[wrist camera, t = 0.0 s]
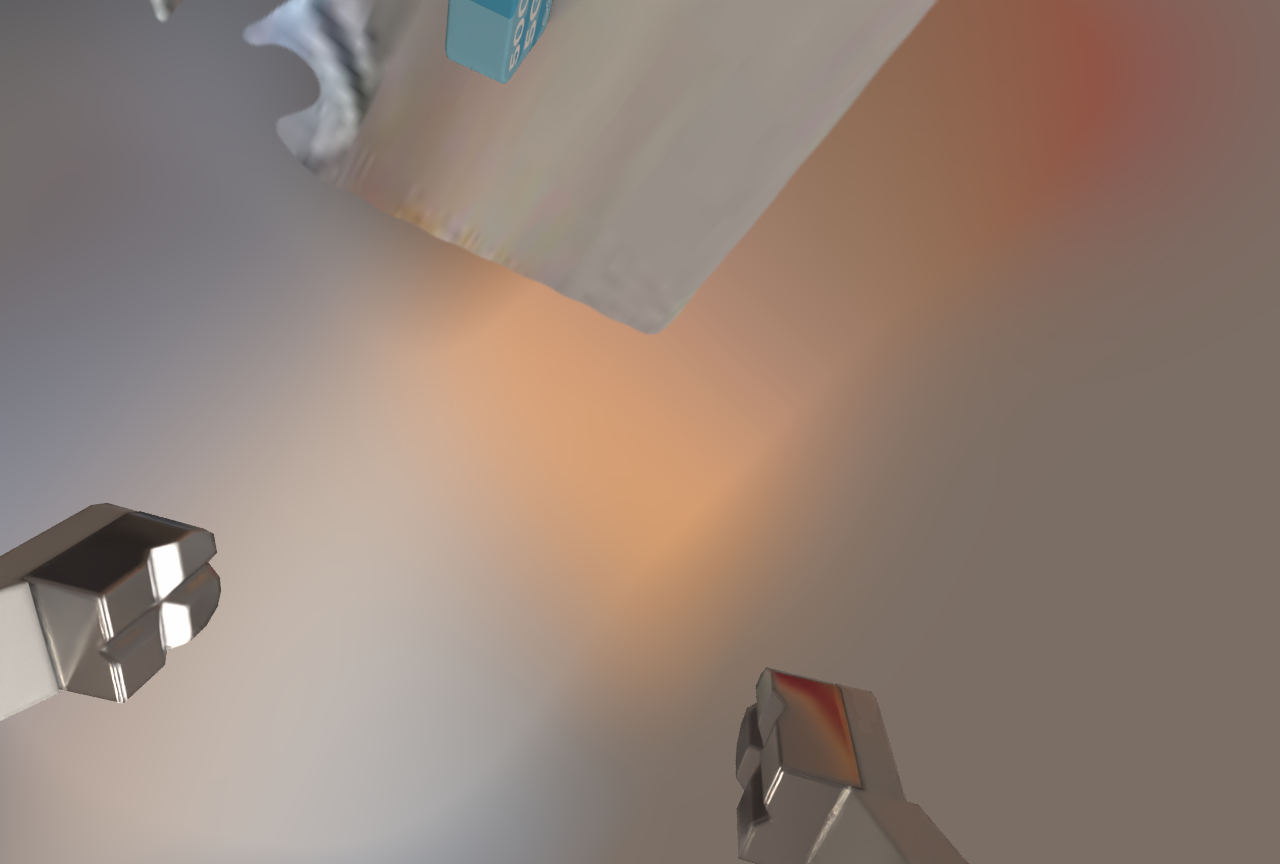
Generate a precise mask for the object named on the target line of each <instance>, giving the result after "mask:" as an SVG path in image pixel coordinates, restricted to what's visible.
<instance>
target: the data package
mask: <svg viewBox="0 0 1280 864" xmlns="http://www.w3.org/2000/svg"><path fill="white" fill-rule="evenodd" d="M552 1H553V0H449V4H448V16H447V29H446V42H445V49H446V54H447V57H448V58H449V59H450V60H452V61H454V62H457V63H459V64H461V65H463V66H465V67H468V68H470V69H472V70H474V71H476V72H478V73H481V74H483V75H485V76H487V77H489V78H492V79H494V80H496V81H498V82H500V83H503V84H505V83H507V82H508V81H509V79H510V78H511V77H512V75H513V74H514V72H515V71H516V70H517V68H518V67H519V65H520V64H521V63H522V61H523V60H524V58H525V57H526V56H527V54H528V53H529V51H530V50H531V49H532V47H533V46H534V44H535V43H536V42H537V40H538V39H539V37H540V36H541V35H542V33H543V31H544V29H545V27H546V24H547V21H548V18H549V14H550V10H551V6H552Z"/></svg>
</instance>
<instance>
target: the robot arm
mask: <svg viewBox="0 0 1280 864" xmlns="http://www.w3.org/2000/svg"><path fill="white" fill-rule="evenodd" d="M216 553H217V550H216V545H215V539H214V534H213V533H211V532H209V531H207V530H205V529H203V528H199V527H196V526H192V525H188V524H185V523H181V522H177V521H174V520H170V519H167V518H163V517H159V516H156V515H152V514H148V513H145V512H141V511H139V512H137V511H134V510H131V509H127V508H123V507H120V506H116V505H113V504H109V503H104V504H96V505H91V506H89V507H87V508H85V509H83V510H82V511H80V512H78V513H76V514H75V515H73V516H71V517H69V518H68V519H66V520H64V521H62V522H60V523H59V524H57V525H55V526H53V527H51V528H50V529H48V530H46V531H44V532H43V533H41V534H39V535H37V536H36V537H34V538H32V539H30V540H28V541H27V542H25V543H23V544H21V545H19V546H18V547H16V548H14V549H12V550H10V551H9V552H7V553H5V554H4V555H2V556H0V721H1V720H3V719H5V718H7V717H10V716H12V715H14V714H16V713H18V712H20V711H22V710H24V709H26V708H29V707H30V706H33V705H35V704H37V703H39V702H41V701H43V700H45V699H48V698H50V697H52V696H54V695H56V694H58V693H59V689H62V690H66V691H70V692H75V693H79V694H84V695H89V696H93V697H98V698H102V699H107V700H111V701H116V702H120V703H124V702H125V701H126V700H127V699H129V698H130V697H131V696H132V695H133V694H134V693H135V692H136V691H137V690H138V689H139V688H141V687H142V686H143V685H144V684H145V683H146V682H147V681H148V680H149V679H150V678H151V677H152V676H154V674H156V673H157V672H158V671H159V670H160V669H161V668H162V667H163V666H164V665H165V661H166V654H167V650H169V649H171V648H174V647H177V646H179V645H182V644H184V643H186V642H189V641H191V640H192V639H193V638H194V637H195V636H196V635H197V634H198V633H199V632H200V631H201V630H202V629H203V628H204V627H205V626H206V625H207V624H208V622H209V620H210V619H211V617H212V615H213V613H214V612H215V610H216V608H217V607H218V602H219V598H220V593H221V586H220V577H219V576H218V574H217V573H216V572H215V570H214V569H213V568H212V567H211V565H210V564H209V563H208V562H209V561H210V560H211V559H212V557H214V555H215V554H216ZM756 698H757V703H755V704H753V705H752V706H750V707H748V708H747V709H746V712H745V715H744V718H743V721H742V723H741V727H740V732H739V737H738V742H737V751H736V778H737V780H738V781H739V783H740V785H741V786H742V788H743V789H744V793H743V795H742V798H741V800H740V802H739V805H738V807H737V830H738V858H739V859H742V860H745V861H748V862H752V863H755V864H968V862H967V861H966V860H965V859H964V858H963V857H962V855H961V854H960V853H959V852H958V851H957V849H956V848H955V847H954V846H953V845H952V844H951V842H950V841H949V840H948V839H947V838H946V837H945V835H944V834H943V833H942V832H941V831H940V830H939V828H938V827H937V826H936V825H935V824H934V822H933V821H932V820H931V819H930V818H929V817H928V815H927V814H926V813H925V812H924V811H923V810H922V808H921V807H920V806H919V805H918V804H914V803H910V802H907V800H906V797H905V793H904V790H903V787H902V783H901V780H900V776H899V773H898V770H897V766H896V763H895V760H894V756H893V753H892V749H891V746H890V742H889V739H888V736H887V733H886V729H885V726H884V722H883V719H882V715H881V712H880V709H879V705H878V702H877V698H876V697H875V696H874V695H873V693H872V692H870V691H866V690H862V689H858V688H853V687H849V686H844V685H840V684H833V683H830V682H826V681H822V680H818V679H813V678H809V677H805V676H801V675H797V674H792V673H788V672H784V671H780V670H776V669H771V668H765V670H764V671H763V672H762V673H761V675H760V678H759V680H758V682H757V685H756Z"/></svg>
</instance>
